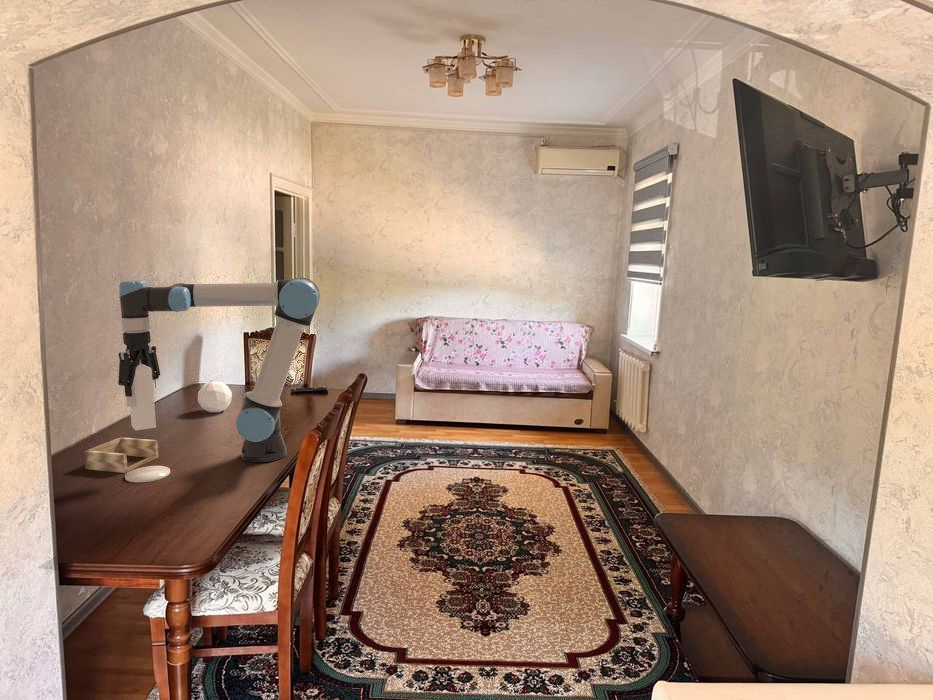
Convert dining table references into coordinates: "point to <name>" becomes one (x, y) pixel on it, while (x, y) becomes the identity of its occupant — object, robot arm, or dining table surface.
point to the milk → (143, 399)
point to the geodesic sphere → (214, 396)
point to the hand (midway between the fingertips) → (142, 402)
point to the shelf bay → (120, 454)
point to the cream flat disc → (147, 474)
